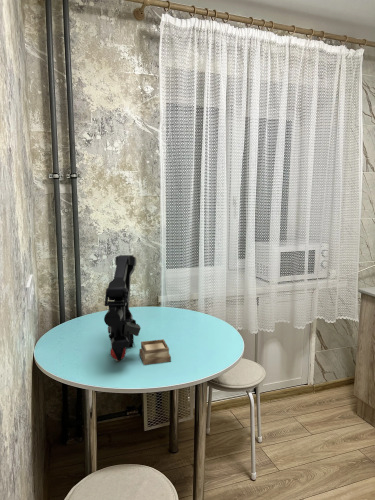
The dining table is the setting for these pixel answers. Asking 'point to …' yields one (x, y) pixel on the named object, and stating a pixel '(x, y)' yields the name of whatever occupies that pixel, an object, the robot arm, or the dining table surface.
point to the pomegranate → (115, 355)
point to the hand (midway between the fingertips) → (118, 356)
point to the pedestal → (154, 352)
